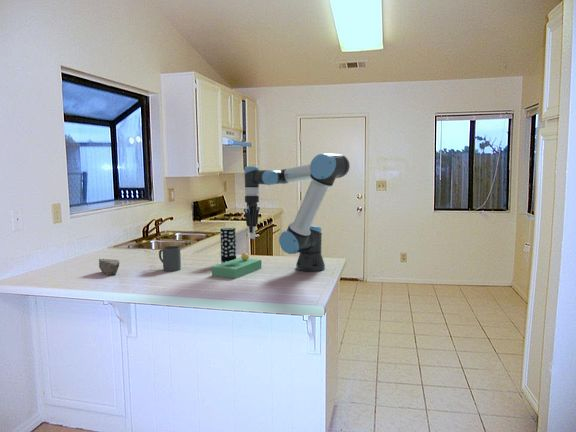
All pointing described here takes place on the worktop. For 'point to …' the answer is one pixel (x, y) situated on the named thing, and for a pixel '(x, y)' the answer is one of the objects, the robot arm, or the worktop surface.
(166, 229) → the worktop surface
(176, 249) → the mug
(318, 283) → the worktop surface
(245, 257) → the ball
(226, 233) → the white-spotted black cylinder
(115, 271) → the stone
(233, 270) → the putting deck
